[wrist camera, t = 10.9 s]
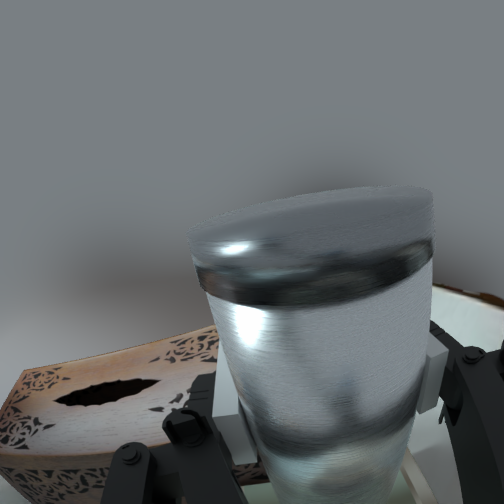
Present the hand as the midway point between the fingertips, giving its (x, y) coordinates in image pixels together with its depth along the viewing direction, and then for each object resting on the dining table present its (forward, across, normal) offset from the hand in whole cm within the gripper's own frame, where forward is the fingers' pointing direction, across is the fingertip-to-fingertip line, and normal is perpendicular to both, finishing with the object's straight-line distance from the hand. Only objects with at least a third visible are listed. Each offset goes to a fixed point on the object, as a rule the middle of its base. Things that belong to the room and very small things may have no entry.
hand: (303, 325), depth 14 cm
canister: (-5, 0, -8) cm, 9 cm away
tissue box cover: (+4, -16, -16) cm, 24 cm away
